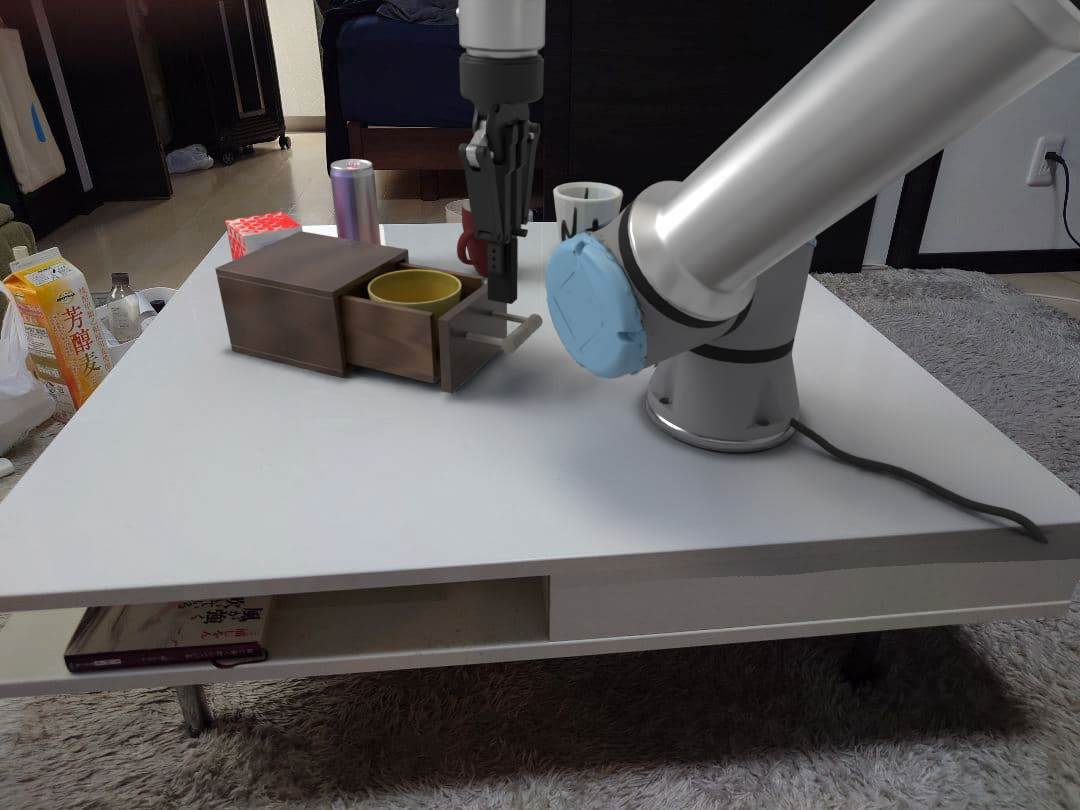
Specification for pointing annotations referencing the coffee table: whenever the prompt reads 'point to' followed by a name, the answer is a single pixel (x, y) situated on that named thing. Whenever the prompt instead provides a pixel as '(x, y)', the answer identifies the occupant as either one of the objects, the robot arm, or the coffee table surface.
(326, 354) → the cabinet
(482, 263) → the mug
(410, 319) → the drawer
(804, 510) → the coffee table surface
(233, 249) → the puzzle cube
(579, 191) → the mug
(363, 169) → the beverage can
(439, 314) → the yellow bowl
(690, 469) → the coffee table surface
